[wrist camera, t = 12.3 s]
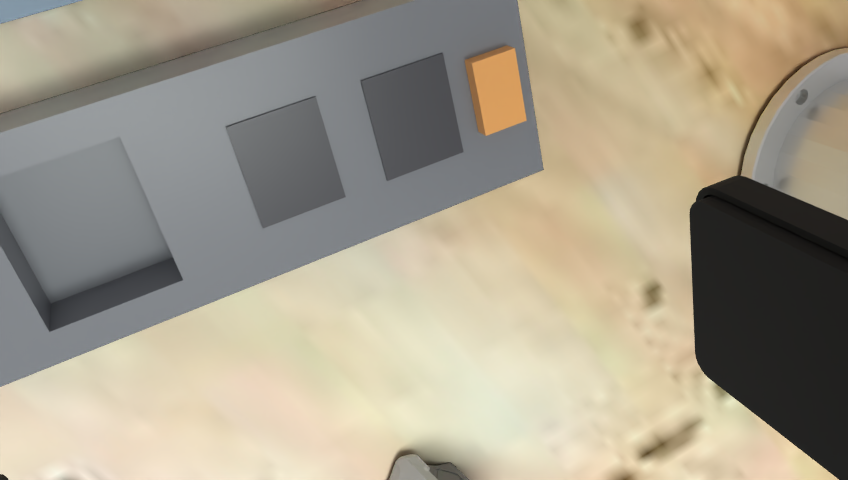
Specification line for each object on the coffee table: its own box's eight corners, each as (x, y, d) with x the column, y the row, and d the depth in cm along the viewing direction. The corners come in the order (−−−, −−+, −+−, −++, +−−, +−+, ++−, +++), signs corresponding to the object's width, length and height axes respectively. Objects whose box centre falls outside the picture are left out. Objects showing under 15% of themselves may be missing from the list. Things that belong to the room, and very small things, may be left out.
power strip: (479, -37, 33) (521, -30, 30) (511, 151, 38) (551, 174, 34) (-175, 168, 27) (-207, 204, 24) (-44, 366, 31) (-57, 419, 28)
